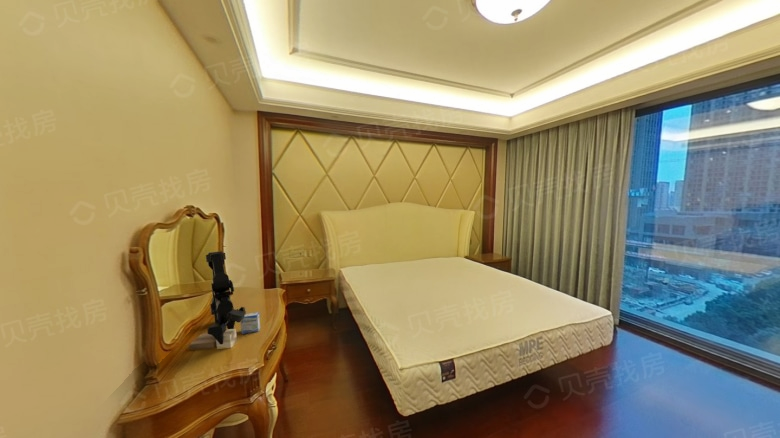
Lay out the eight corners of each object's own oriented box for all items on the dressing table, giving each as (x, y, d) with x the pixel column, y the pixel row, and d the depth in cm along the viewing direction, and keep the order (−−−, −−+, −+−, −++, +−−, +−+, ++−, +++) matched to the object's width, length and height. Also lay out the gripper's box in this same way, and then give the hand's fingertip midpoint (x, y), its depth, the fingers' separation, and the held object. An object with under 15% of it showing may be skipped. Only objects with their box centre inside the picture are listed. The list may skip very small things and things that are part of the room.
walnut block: (202, 339, 134) (202, 333, 134) (224, 337, 135) (223, 331, 135) (190, 350, 124) (189, 344, 124) (213, 348, 125) (213, 342, 125)
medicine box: (241, 334, 137) (239, 317, 136) (243, 330, 141) (242, 313, 140) (258, 331, 139) (257, 315, 138) (260, 327, 143) (259, 311, 143)
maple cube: (223, 341, 130) (222, 329, 130) (236, 340, 131) (235, 328, 130) (217, 349, 125) (215, 336, 124) (231, 347, 125) (229, 335, 124)
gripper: (232, 313, 117) (235, 348, 119) (250, 297, 136) (252, 327, 138) (204, 315, 116) (208, 350, 118) (226, 298, 135) (229, 329, 136)
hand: (226, 338), depth 128 cm, fingers open, 9 cm apart
